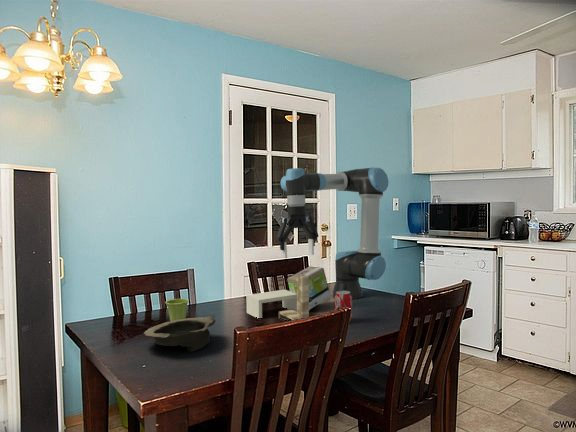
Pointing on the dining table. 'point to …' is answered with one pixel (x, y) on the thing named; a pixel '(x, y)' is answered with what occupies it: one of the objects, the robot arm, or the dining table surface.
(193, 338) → the stone bowl
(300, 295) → the beech scraper
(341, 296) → the soda can
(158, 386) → the dining table surface
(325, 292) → the tea box
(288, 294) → the cream u-shaped bracket
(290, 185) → the robot arm
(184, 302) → the plant pot
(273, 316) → the dining table surface
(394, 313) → the dining table surface
